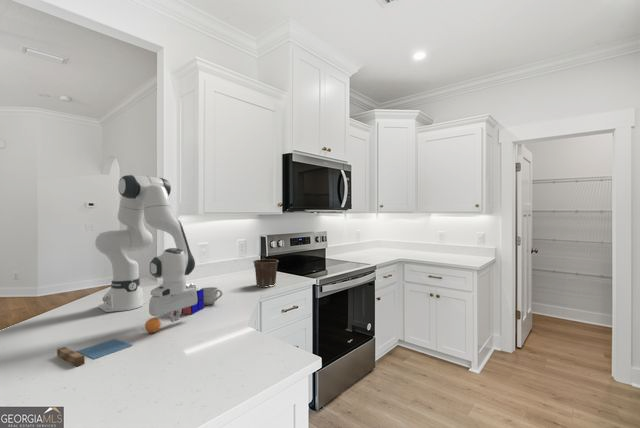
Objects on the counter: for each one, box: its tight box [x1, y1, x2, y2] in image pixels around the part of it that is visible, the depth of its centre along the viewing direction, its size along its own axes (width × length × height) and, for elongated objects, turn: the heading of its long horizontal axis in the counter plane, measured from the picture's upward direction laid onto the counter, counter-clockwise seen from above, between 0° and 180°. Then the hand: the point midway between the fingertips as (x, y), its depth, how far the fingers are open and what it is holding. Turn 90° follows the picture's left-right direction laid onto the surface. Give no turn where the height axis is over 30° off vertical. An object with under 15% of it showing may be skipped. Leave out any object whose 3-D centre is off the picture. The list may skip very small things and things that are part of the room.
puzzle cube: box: [173, 287, 205, 315], centre depth 150 cm, size 10×10×10 cm
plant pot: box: [253, 258, 279, 286], centre depth 203 cm, size 16×16×16 cm
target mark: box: [76, 338, 134, 360], centre depth 108 cm, size 12×12×1 cm
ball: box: [144, 317, 162, 334], centre depth 123 cm, size 6×6×6 cm
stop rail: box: [56, 346, 86, 367], centre depth 99 cm, size 14×2×2 cm, turn 59°
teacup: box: [202, 286, 224, 306], centre depth 162 cm, size 14×11×8 cm
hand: (174, 320), depth 131 cm, fingers closed
